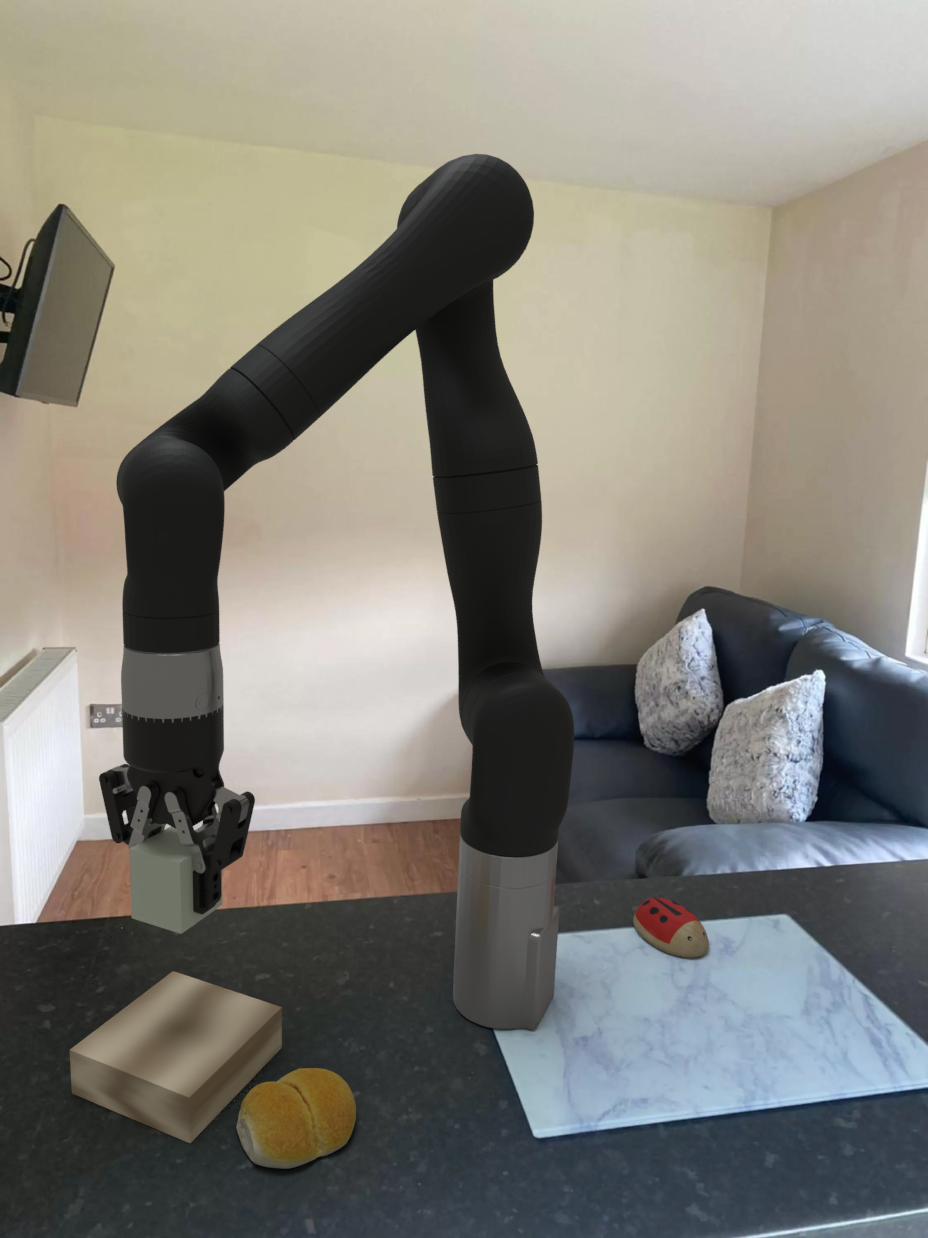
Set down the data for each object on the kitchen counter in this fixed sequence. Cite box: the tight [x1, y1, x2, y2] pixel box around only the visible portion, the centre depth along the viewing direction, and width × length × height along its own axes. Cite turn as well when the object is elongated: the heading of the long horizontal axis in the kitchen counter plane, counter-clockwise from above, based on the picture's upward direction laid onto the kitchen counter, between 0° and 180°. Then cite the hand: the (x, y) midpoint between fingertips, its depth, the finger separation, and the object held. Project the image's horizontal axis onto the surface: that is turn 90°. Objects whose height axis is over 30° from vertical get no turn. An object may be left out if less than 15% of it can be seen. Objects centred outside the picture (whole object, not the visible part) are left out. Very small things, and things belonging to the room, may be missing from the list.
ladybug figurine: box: [632, 896, 710, 958], centre depth 97 cm, size 7×10×4 cm
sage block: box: [128, 826, 223, 935], centre depth 70 cm, size 5×5×6 cm
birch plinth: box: [69, 971, 283, 1144], centre depth 73 cm, size 12×12×4 cm
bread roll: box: [236, 1067, 357, 1170], centre depth 68 cm, size 8×9×4 cm
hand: (177, 900), depth 71 cm, fingers closed on sage block, 5 cm apart
